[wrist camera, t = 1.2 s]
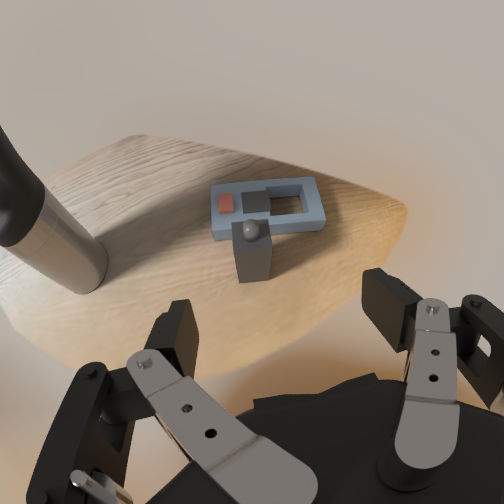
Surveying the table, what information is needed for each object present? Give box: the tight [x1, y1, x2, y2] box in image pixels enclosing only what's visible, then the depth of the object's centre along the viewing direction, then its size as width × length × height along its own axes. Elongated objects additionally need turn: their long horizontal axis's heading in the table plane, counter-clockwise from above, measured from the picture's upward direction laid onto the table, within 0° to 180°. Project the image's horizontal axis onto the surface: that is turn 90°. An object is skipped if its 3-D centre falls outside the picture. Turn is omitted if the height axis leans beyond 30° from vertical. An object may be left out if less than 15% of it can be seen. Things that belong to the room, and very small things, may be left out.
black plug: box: [231, 219, 273, 283], centre depth 32 cm, size 4×4×12 cm
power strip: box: [210, 176, 326, 241], centre depth 40 cm, size 16×8×4 cm, turn 96°
